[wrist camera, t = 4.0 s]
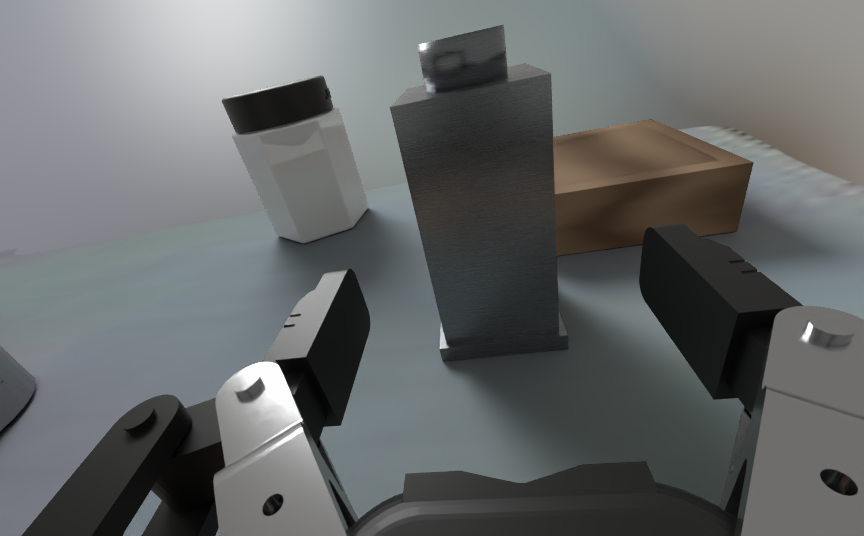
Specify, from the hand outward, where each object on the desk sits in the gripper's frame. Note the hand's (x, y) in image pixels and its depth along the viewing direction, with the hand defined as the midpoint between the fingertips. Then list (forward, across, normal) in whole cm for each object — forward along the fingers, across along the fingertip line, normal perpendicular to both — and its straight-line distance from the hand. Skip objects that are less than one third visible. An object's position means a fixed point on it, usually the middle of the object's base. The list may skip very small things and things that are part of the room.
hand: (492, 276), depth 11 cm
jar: (+23, +15, +7) cm, 29 cm away
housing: (+6, 0, +7) cm, 9 cm away
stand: (+17, -8, +6) cm, 20 cm away
